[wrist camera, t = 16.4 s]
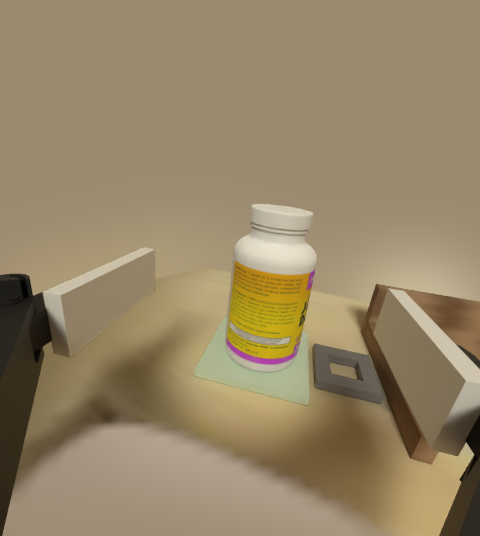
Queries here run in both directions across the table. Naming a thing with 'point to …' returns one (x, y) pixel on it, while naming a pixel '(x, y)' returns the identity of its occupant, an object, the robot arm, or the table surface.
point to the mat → (269, 383)
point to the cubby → (451, 323)
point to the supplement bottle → (270, 288)
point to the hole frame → (355, 388)
